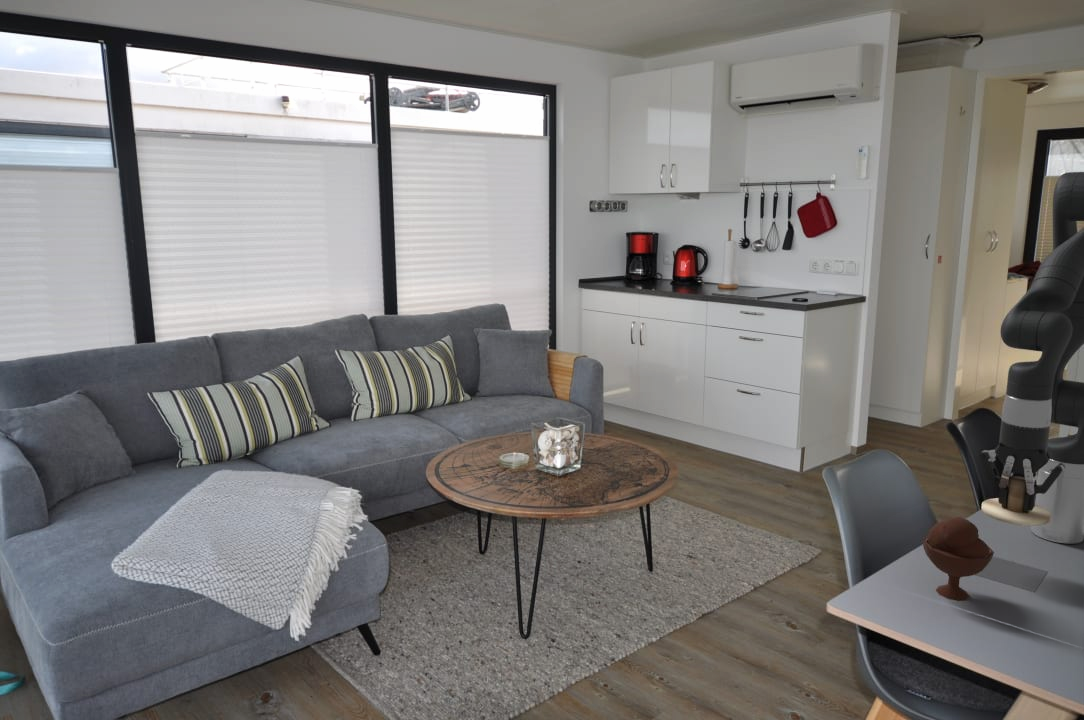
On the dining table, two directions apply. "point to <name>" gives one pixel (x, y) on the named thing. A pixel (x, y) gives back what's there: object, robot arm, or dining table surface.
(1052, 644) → the dining table surface
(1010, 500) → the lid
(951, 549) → the ice cream bowl
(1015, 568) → the mat
